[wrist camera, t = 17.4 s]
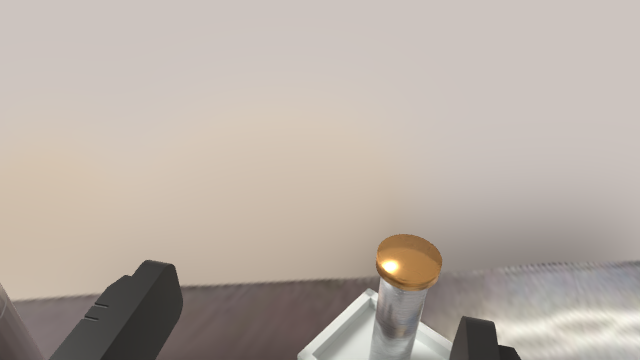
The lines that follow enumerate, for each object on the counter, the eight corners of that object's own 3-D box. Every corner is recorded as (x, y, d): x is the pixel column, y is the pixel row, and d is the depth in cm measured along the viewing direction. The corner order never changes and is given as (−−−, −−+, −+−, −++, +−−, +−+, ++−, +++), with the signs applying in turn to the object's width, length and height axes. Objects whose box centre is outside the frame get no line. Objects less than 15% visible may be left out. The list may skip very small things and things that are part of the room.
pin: (351, 369, 44) (364, 257, 35) (380, 337, 47) (400, 226, 38) (394, 404, 41) (420, 291, 32) (422, 367, 44) (453, 254, 35)
